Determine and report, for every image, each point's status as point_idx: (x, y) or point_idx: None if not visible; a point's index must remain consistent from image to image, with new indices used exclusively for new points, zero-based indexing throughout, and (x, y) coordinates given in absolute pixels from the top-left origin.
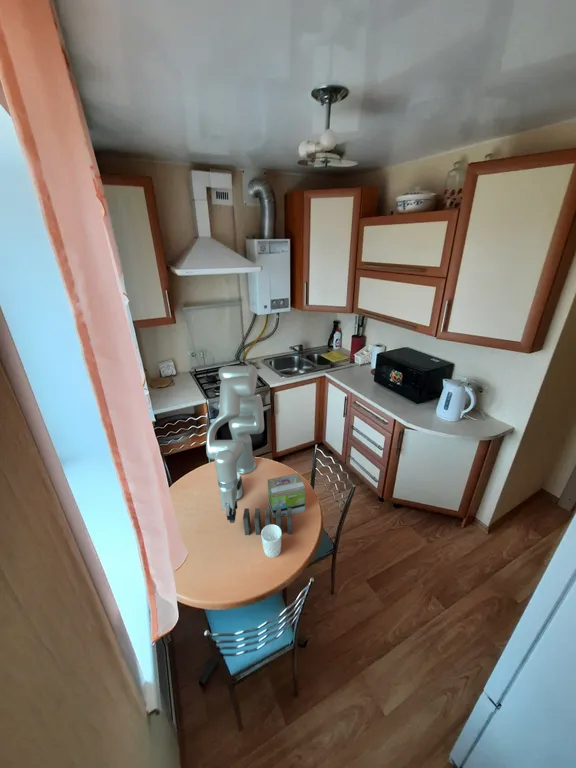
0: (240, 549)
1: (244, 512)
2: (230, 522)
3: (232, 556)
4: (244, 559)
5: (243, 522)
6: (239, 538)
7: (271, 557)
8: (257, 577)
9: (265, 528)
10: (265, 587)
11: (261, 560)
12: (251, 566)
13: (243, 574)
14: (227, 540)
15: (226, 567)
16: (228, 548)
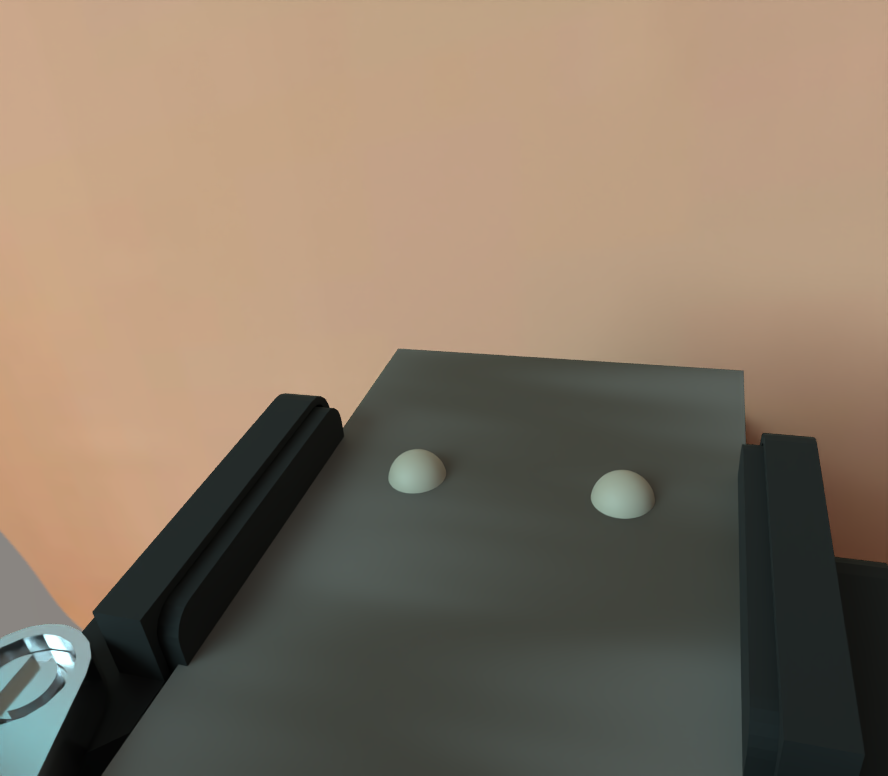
0: (305, 342)
1: None
2: (396, 369)
3: (191, 249)
4: (195, 395)
5: None
6: (471, 315)
7: None
8: (72, 509)
9: None
10: (26, 559)
11: None
12: (146, 464)
13: (48, 391)
14: (419, 124)
15: (42, 193)
16: (287, 170)
